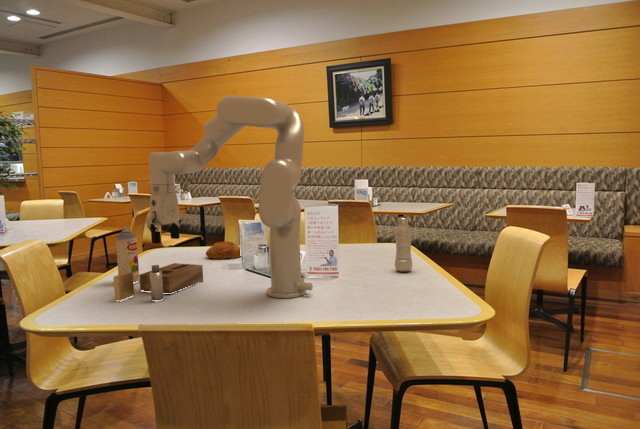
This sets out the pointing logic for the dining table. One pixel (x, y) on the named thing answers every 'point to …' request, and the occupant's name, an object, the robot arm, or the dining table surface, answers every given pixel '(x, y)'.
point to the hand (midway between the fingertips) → (166, 240)
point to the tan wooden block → (123, 286)
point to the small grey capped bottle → (156, 283)
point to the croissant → (223, 250)
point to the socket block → (174, 277)
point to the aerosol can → (127, 253)
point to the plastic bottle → (403, 245)
